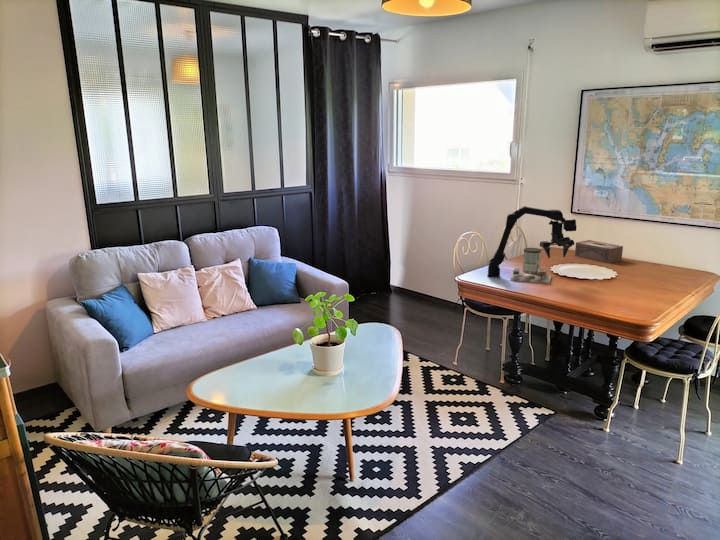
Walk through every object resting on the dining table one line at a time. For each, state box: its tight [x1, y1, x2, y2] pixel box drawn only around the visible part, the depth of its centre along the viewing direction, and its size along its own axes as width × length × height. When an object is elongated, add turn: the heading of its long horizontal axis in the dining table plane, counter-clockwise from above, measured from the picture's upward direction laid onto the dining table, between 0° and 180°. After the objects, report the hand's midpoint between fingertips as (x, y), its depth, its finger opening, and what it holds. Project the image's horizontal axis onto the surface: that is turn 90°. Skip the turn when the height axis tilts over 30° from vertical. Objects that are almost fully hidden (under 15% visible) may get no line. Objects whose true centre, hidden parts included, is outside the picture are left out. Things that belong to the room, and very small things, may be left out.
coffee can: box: [522, 247, 542, 274], centre depth 324 cm, size 10×10×14 cm
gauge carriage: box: [531, 268, 547, 279], centre depth 305 cm, size 8×10×4 cm
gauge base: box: [510, 267, 552, 284], centre depth 308 cm, size 22×12×5 cm, turn 69°
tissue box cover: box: [574, 239, 624, 264], centre depth 355 cm, size 26×14×10 cm, turn 31°
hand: (556, 257), depth 305 cm, fingers open, 9 cm apart
